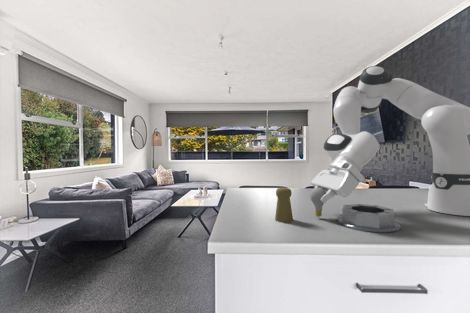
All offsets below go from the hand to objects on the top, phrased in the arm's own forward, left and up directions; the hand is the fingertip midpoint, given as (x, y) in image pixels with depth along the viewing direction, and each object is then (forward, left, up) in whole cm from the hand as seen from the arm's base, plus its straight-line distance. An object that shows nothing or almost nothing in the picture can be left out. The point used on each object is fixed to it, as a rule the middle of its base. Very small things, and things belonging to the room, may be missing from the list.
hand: (316, 199), depth 80 cm
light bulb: (-1, 0, -6) cm, 6 cm away
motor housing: (-12, +10, -7) cm, 17 cm away
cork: (+11, -2, -7) cm, 13 cm away
